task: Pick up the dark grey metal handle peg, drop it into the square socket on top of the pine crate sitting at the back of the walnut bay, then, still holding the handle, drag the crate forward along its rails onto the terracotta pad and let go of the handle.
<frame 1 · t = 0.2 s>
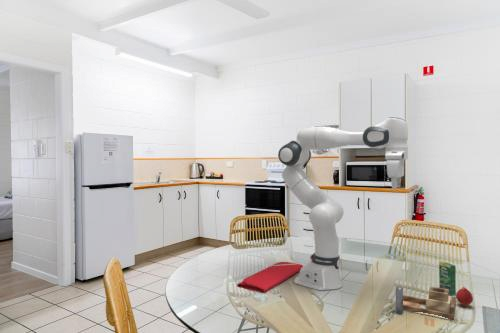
hand: (396, 187, 153), 47 cm above the table, fingers open, 8 cm apart
coffee box: (447, 292, 161), on the table
crate: (438, 300, 139), point 5 cm above the table, slide at 0.0 cm
handle peg: (399, 313, 138), on the table
red folded cloth: (272, 279, 180), on the table
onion: (464, 306, 145), on the table
bay: (425, 309, 142), on the table
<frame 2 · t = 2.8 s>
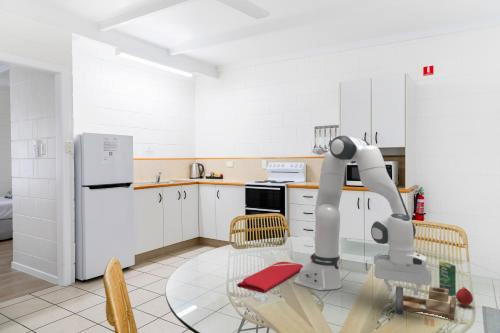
hand: (402, 292, 138), 8 cm above the table, fingers open, 8 cm apart
nothing on the table moved.
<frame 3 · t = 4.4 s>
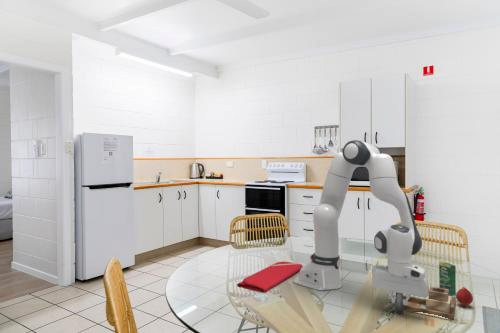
hand: (399, 303, 138), 4 cm above the table, fingers closed on handle peg, 3 cm apart
handle peg: (399, 313, 138), on the table, touching gripper
everything else where it was.
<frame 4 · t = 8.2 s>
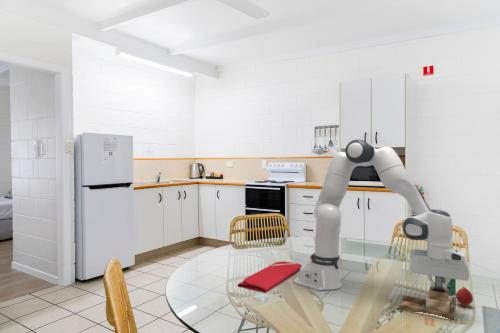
hand: (438, 287, 139), 10 cm above the table, fingers closed on handle peg, 3 cm apart
handle peg: (438, 296, 139), point 6 cm above the table, touching gripper
everything else where it was.
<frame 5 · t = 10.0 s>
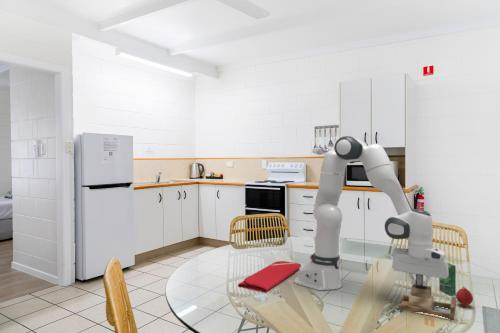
hand: (419, 285, 143), 9 cm above the table, fingers closed on handle peg, 3 cm apart
crate: (421, 297, 143), point 5 cm above the table, slide at 6.2 cm, touching handle peg
handle peg: (419, 294, 143), point 6 cm above the table, touching crate, gripper
everything else where it was.
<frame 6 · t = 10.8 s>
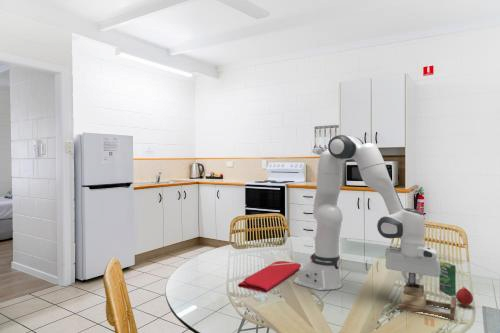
hand: (412, 283, 144), 9 cm above the table, fingers closed on handle peg, 3 cm apart
crate: (413, 295, 144), point 4 cm above the table, slide at 8.8 cm
handle peg: (412, 292, 144), point 6 cm above the table, touching gripper
when the fingers open (9 cm above the table, at t = 11.9 s): handle peg stays where it is, resting on crate.
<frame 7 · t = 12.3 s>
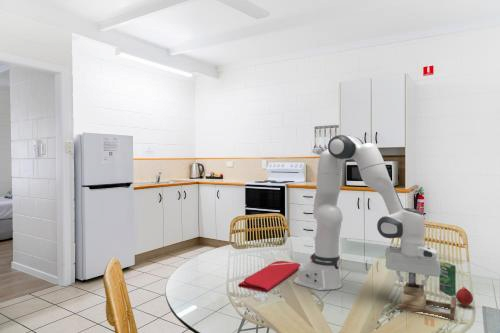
hand: (412, 283, 144), 9 cm above the table, fingers open, 7 cm apart
crate: (413, 295, 144), point 4 cm above the table, slide at 8.9 cm, touching handle peg
handle peg: (412, 292, 144), point 6 cm above the table, touching crate
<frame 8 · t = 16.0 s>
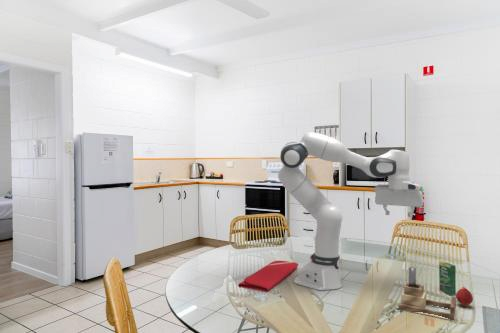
hand: (398, 215, 162), 34 cm above the table, fingers open, 8 cm apart
at the end: crate slide at 8.9 cm; handle peg 0.7 cm from the target spot on the crate, point 5.5 cm above the crate's base; the gripper is holding nothing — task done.
